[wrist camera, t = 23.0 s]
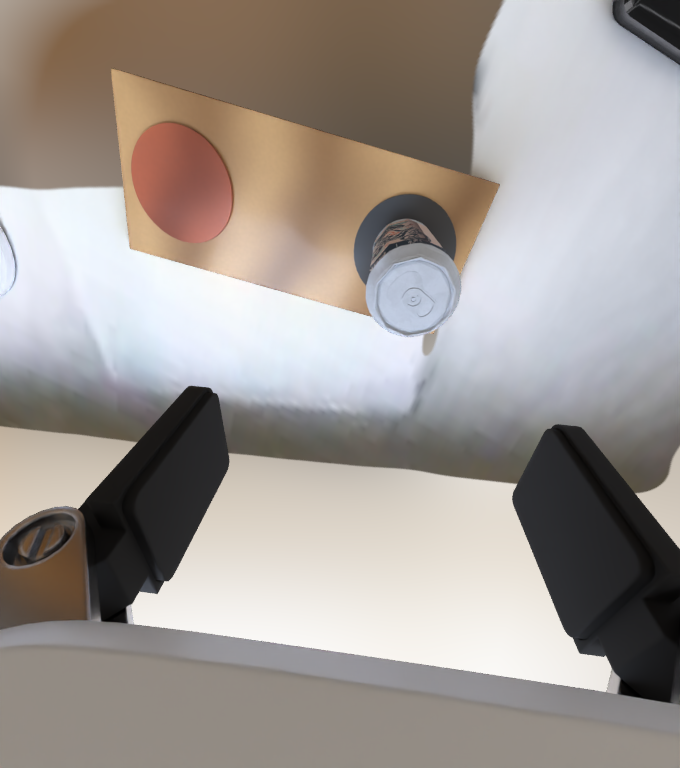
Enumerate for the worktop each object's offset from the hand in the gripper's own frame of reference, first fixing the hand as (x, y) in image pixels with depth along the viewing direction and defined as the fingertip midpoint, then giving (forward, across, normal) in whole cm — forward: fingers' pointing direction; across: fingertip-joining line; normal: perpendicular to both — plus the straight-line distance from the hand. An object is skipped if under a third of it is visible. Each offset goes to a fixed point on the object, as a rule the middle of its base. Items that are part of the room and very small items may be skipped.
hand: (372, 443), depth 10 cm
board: (+23, +7, -3) cm, 24 cm away
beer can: (+21, -2, -2) cm, 21 cm away
